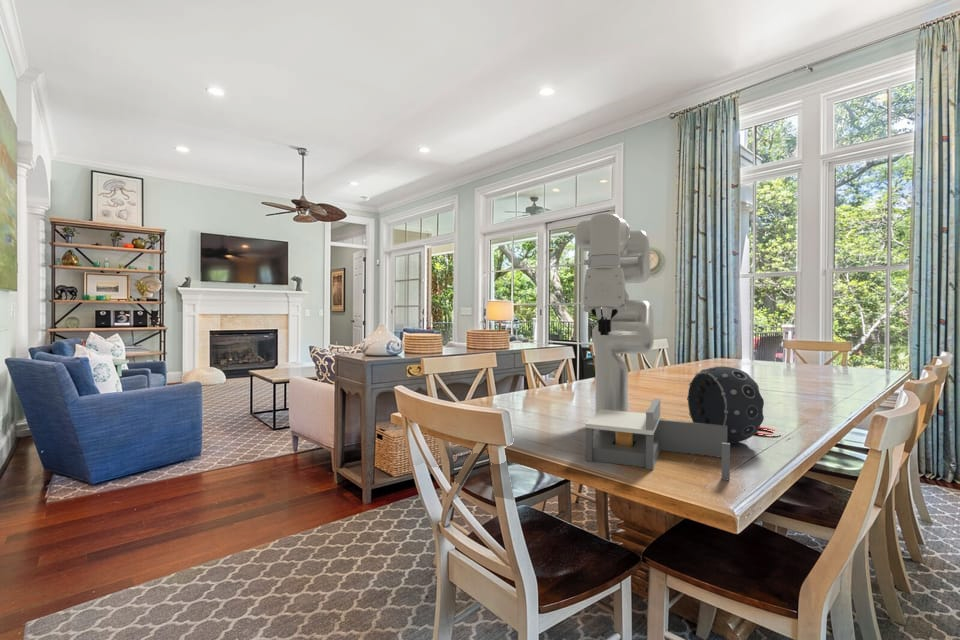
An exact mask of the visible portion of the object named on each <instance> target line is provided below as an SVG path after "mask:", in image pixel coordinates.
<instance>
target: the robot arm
mask: <svg viewBox="0 0 960 640" xmlns="http://www.w3.org/2000/svg"><path fill="white" fill-rule="evenodd" d="M574 235H575V241H576V245H577V246H578V248H579V249H580V250H581V251H584V252H589V257H588V258H587V259H584V260H583V263H584V265H585V266H589V268H587V269H586V271H585V275H584V276H585V277H584V283H583V284H584V285H583V295H582V297H583V298H582V300H583V302H582V303H583V312H585V313H589V314H592V315H593V316H594V317H595V318H596V319H597V320H598V321H597V324H595V326H594V327H593V330H592V333H591V334H592V335H591V336H592V344H593V349H594V361H595V372H594V373H595V376H594V377H595V378H594V379H595V384H594V385H595V391H594V392H595V400H594V401H595V403H594V404H595V411H594V412H595V414H596V413H597V412H598V411H599V410H600V409H603V410H614V411H625V412H629V368H628V366H627V364H626V362H625V361H624V359H623V358H622V357H621V356H620V355H621V354H626V355H628V354H631V355H632V354H633V355H643V354H648V353H650V352H651V351H652V349H653V348H654V347H653V346H654V342H655V341H654V340H655V339H654V332H655V331H654V326H655V325H654V321H655V320H654V311H653V310H654V309H653V307H652V304H651V303H650V302H649V301H647V300H643V299H641V300H640V299H630V296H629V294H628V292H627V291H626V284H642V283H646V282H647V281H648V280H649V279H650V274H651V261H650V260H651V259H650V258H651V255H650V254H651V253H650V249H651V247H650V241H649V236H648V235H647V233H646V232H645V231H644V230H631V228H630V225H629V224H628V222H627V221H626V220H625V219H623V218H620V217H619V215H617V214H616V213H615V214H614V213H600V214H595V215H593V216H592V217H591V218H590V219H588V220H587V219H586V220H583V221H579V223H578V224H577V226H576V227H575V233H574ZM595 414H594V415H595Z"/></svg>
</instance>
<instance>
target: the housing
mask: <svg viewBox="0 0 960 640" xmlns="http://www.w3.org/2000/svg"><path fill="white" fill-rule="evenodd" d="M584 430H585V439H584V440H585V443H584V444H585V451H584V452H585V454H584V455H585V458H584V459H585V461H586V462H590V463H591V462H593V461H595V462H603V463H609V464H610V463H611V464H617V465H622V464H623V465H624V466H630V465H631V467H637V466H638V467H639V468H644V467H645V470H648V471H654V469H655V466H656V463H657V460H658V457H659V454H660V451H662V450H663V451H664V452H672V453H679V452H680V453H679V454H687V453H690V454H689V455H695V454H701V455H700V456H704V455H709V456H708V457H712V456H719V457H718V458H720V457H722V458H721V480H722V479H728V480H730V481H731V478H730V477H731V461H730V460H731V443H727V426H726V425H715V424H705V423H694V422H693V421H682V420H671V419H661V418H660V420H659V423H658V425H657V427H656V430H655V432H654V434H653V435H647V434H637V433H633V447H632V446H623V445H616V434H615V431H610V430H601V429H599V432H598V433H597V434H596V435H595V436H594V429H591V428H585V429H584ZM623 465H622V466H623ZM638 467H637V468H638Z"/></svg>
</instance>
